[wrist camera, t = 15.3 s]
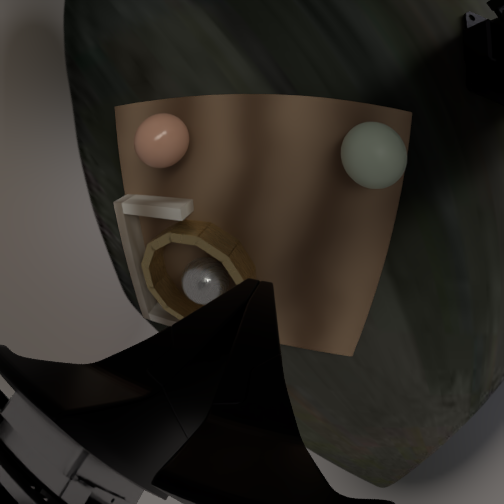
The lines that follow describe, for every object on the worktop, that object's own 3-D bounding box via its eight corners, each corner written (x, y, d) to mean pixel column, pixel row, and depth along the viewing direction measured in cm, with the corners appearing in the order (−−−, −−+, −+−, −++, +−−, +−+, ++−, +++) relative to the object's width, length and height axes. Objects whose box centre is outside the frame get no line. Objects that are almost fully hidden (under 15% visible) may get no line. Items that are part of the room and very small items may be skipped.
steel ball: (192, 281, 20) (170, 257, 23) (198, 321, 22) (177, 296, 25) (237, 263, 22) (211, 243, 25) (239, 302, 24) (214, 280, 27)
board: (408, 111, 15) (419, 114, 13) (352, 347, 27) (350, 372, 24) (123, 105, 21) (98, 110, 18) (156, 304, 33) (142, 321, 30)
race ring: (255, 227, 22) (245, 243, 20) (256, 321, 27) (248, 339, 25) (148, 215, 25) (132, 228, 23) (167, 301, 30) (155, 315, 28)
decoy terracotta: (198, 109, 18) (167, 114, 15) (200, 161, 20) (172, 176, 17) (153, 112, 19) (119, 119, 16) (157, 160, 21) (125, 174, 18)
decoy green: (403, 125, 15) (418, 132, 12) (395, 183, 17) (406, 204, 14) (343, 115, 16) (343, 119, 13) (338, 173, 18) (336, 192, 15)
